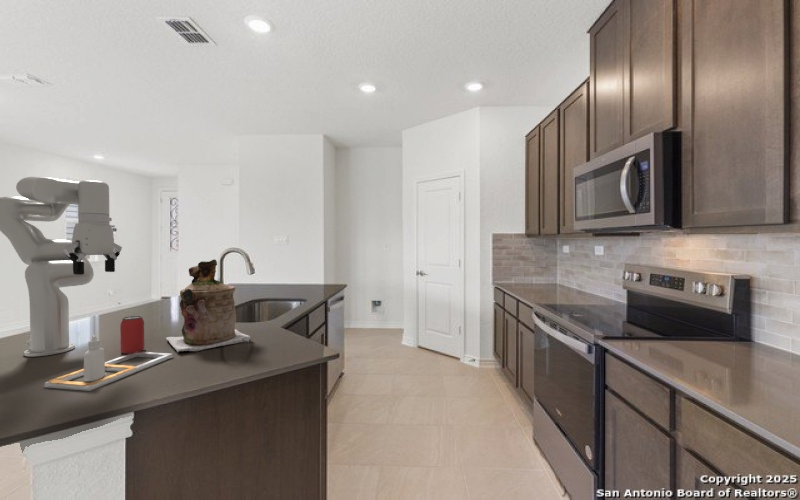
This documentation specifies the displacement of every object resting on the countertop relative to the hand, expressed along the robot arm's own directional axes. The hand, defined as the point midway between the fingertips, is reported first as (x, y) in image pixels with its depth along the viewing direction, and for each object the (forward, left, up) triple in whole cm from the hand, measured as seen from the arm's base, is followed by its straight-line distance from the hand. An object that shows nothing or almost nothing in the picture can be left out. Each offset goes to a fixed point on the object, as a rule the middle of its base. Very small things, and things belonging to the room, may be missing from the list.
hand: (95, 273), depth 111 cm
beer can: (+3, +10, -28) cm, 30 cm away
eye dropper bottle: (+15, -13, -28) cm, 34 cm away
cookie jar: (+20, +26, -29) cm, 43 cm away
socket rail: (+15, -6, -28) cm, 33 cm away
